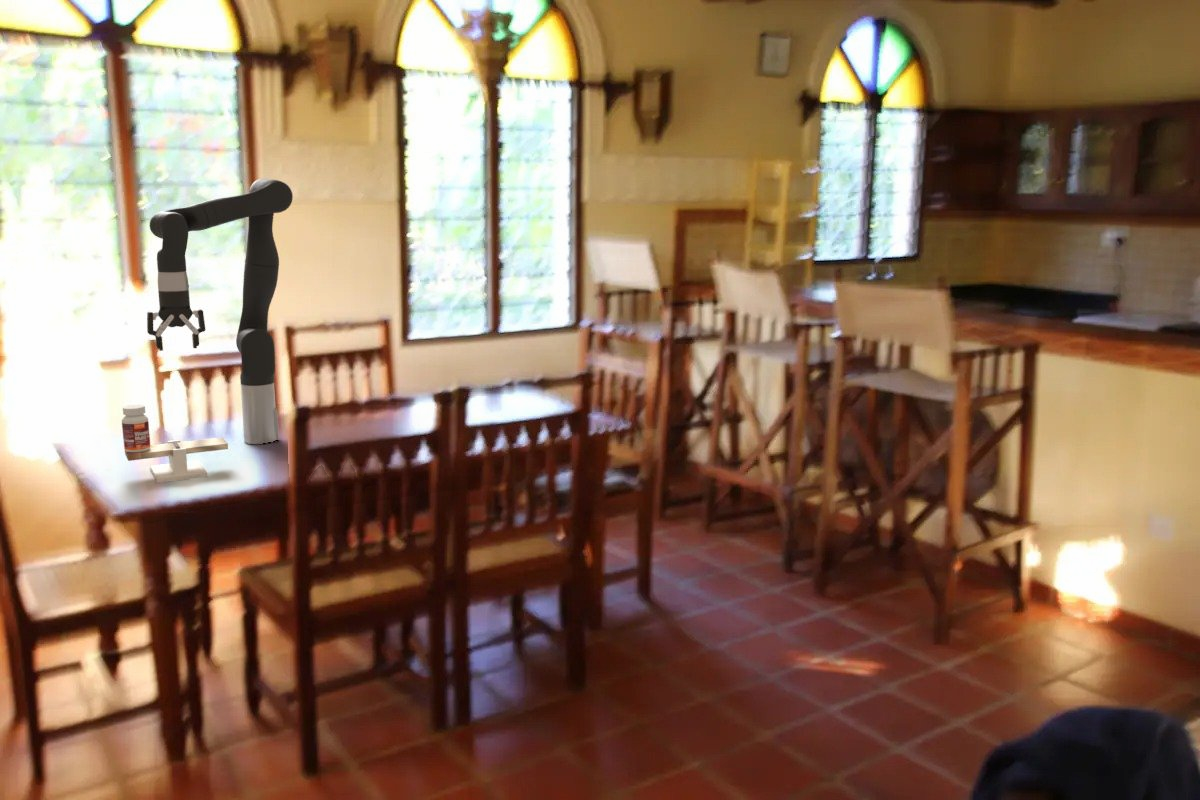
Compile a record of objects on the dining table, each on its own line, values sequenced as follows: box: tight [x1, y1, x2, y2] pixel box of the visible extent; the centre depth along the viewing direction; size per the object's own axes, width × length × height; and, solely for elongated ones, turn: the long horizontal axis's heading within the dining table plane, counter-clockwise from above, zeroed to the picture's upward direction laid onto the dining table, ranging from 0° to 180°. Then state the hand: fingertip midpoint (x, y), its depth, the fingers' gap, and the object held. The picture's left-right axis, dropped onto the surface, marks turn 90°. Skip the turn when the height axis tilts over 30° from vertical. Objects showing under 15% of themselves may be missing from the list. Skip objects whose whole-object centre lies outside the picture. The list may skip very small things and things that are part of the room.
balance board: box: [124, 437, 229, 462], centre depth 272 cm, size 24×8×2 cm, turn 119°
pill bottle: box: [121, 404, 151, 453], centre depth 266 cm, size 6×6×11 cm
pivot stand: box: [149, 439, 209, 483], centre depth 272 cm, size 12×14×8 cm
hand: (178, 349), depth 281 cm, fingers open, 8 cm apart
